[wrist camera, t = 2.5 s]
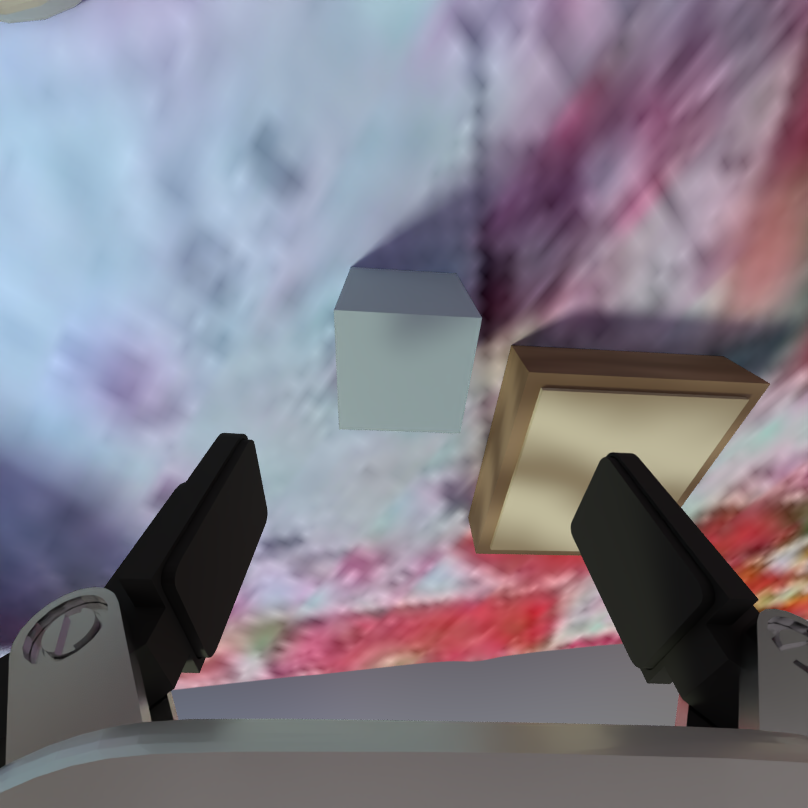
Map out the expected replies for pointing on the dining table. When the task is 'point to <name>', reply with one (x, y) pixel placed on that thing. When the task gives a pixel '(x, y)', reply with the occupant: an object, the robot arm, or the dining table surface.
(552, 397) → the plinth
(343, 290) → the block
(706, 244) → the dining table surface
